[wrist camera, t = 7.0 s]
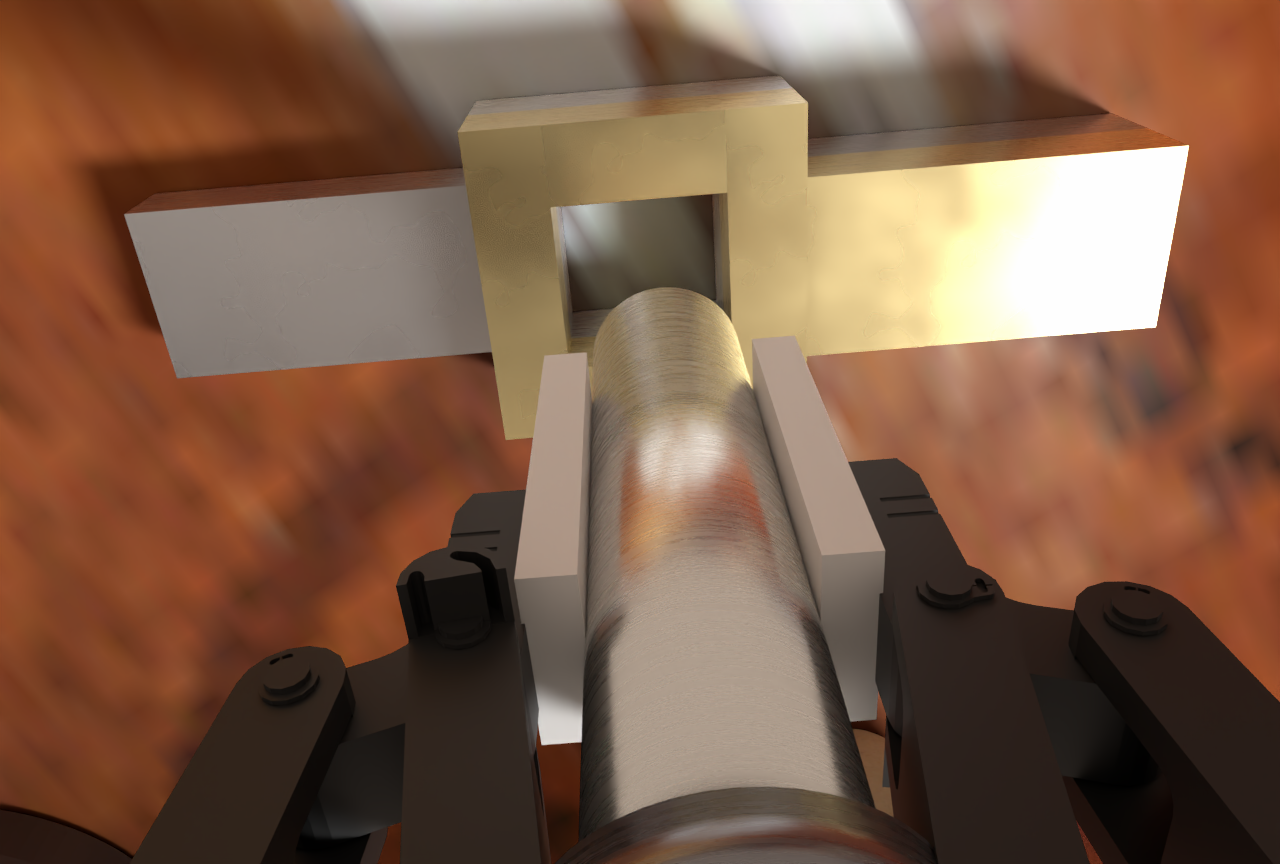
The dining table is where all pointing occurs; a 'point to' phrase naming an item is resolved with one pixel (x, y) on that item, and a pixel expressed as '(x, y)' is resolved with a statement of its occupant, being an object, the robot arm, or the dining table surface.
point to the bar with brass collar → (662, 168)
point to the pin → (705, 623)
